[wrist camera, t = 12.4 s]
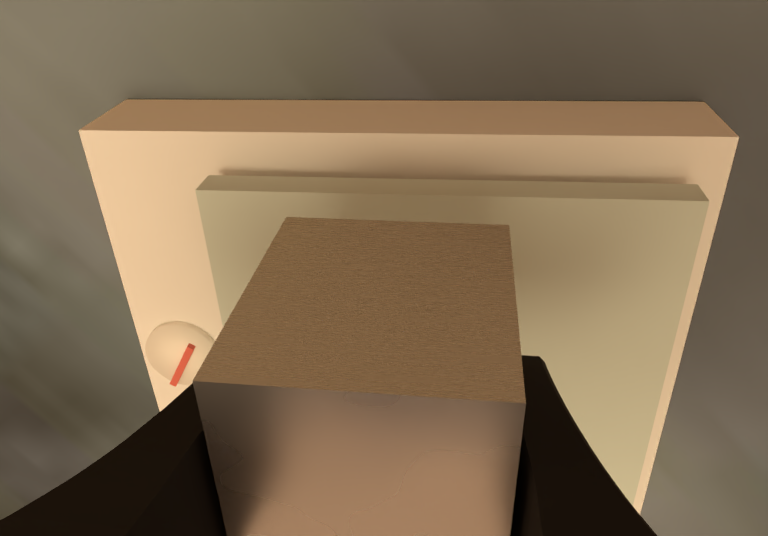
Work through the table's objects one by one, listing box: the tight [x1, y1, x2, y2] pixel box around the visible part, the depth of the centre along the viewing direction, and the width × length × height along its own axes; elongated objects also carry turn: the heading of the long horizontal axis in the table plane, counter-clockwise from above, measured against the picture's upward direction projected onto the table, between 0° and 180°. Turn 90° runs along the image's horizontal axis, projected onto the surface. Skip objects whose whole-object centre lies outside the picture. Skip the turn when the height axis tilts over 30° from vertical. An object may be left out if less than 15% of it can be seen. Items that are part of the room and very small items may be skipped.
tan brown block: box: [193, 217, 526, 536], centre depth 12 cm, size 4×4×5 cm
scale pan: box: [195, 175, 710, 506], centre depth 20 cm, size 13×14×1 cm
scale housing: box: [79, 99, 739, 514], centre depth 23 cm, size 18×16×4 cm
